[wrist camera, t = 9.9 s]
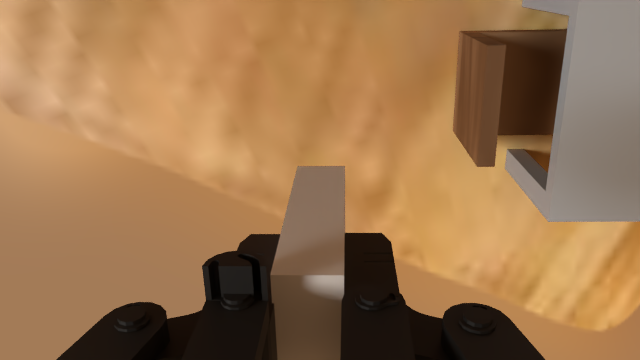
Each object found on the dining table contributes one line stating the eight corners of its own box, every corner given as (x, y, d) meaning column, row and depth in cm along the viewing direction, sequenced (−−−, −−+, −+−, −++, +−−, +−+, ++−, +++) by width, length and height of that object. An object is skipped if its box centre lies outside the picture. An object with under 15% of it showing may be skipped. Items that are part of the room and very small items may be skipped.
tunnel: (505, 168, 40) (548, 221, 31) (524, -18, 35) (581, -15, 27) (629, 167, 40) (707, 221, 31) (665, -21, 35) (769, -20, 26)
